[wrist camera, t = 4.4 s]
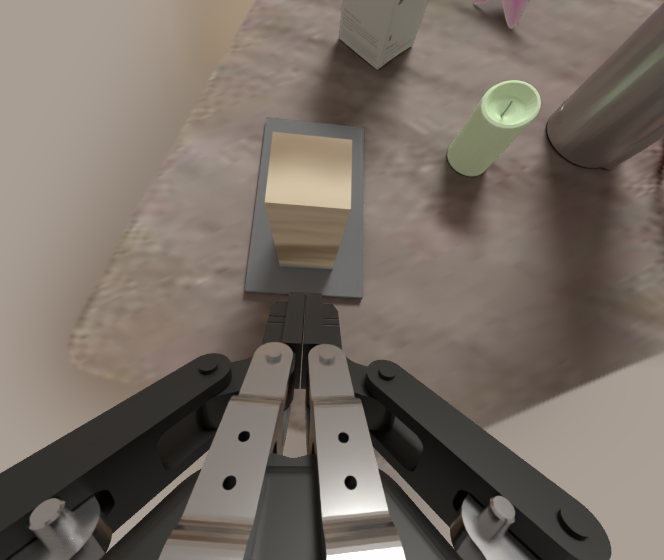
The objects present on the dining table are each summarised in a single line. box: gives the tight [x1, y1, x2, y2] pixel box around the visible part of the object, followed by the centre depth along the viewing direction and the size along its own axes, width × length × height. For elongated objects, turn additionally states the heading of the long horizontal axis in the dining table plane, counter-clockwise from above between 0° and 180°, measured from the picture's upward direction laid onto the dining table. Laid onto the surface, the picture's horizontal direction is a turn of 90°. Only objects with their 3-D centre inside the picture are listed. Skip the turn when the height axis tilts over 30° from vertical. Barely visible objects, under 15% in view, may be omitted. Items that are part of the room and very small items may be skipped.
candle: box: [447, 80, 541, 176], centre depth 30 cm, size 5×5×8 cm
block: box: [265, 132, 352, 270], centre depth 23 cm, size 5×5×11 cm
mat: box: [245, 117, 364, 299], centre depth 30 cm, size 20×11×1 cm, turn 178°
